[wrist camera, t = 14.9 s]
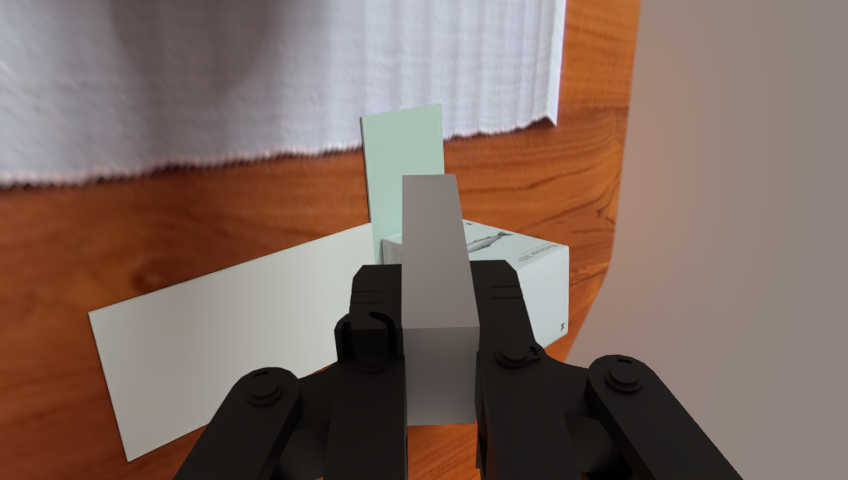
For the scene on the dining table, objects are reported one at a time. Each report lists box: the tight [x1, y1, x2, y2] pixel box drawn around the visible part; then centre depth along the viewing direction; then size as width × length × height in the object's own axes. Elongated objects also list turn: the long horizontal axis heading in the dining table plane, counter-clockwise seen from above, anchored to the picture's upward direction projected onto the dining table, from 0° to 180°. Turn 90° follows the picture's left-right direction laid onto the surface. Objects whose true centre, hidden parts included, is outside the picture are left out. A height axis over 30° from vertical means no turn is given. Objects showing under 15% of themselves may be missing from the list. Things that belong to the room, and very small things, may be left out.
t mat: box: [88, 103, 444, 462], centre depth 44 cm, size 28×26×1 cm
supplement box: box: [382, 220, 569, 349], centre depth 46 cm, size 7×7×13 cm
